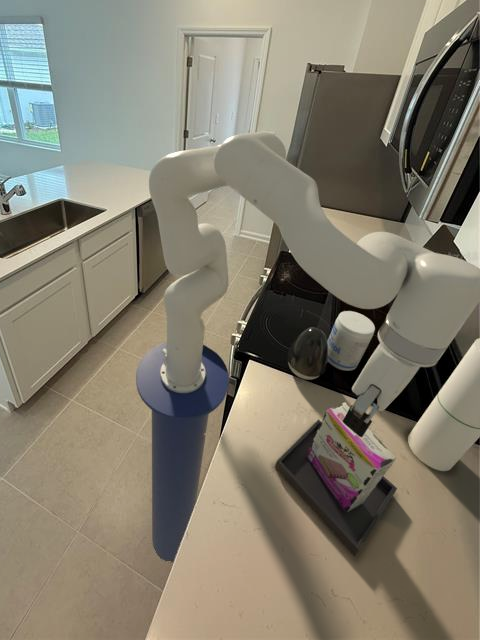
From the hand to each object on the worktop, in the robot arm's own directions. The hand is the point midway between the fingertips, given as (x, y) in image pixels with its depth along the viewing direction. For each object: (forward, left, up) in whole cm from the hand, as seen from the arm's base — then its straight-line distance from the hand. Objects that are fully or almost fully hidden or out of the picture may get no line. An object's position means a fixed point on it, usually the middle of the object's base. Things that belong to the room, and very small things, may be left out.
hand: (366, 412), depth 52 cm
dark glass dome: (-20, +19, -22) cm, 35 cm away
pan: (0, 0, -22) cm, 22 cm away
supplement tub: (-16, +32, -22) cm, 42 cm away
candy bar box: (0, 0, -22) cm, 22 cm away
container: (+10, +24, -22) cm, 34 cm away
